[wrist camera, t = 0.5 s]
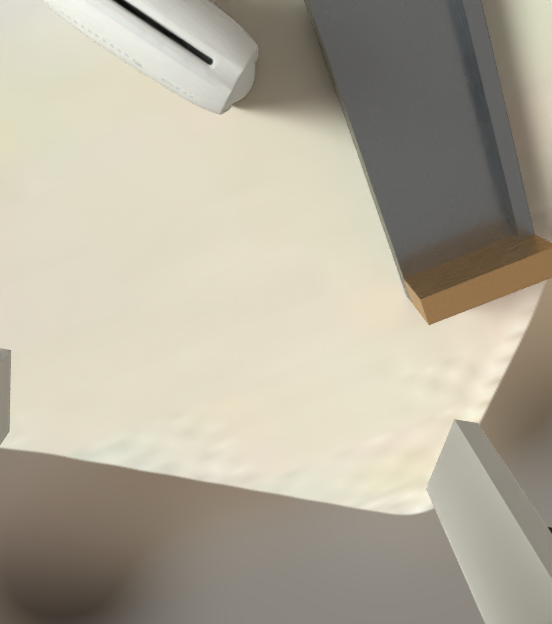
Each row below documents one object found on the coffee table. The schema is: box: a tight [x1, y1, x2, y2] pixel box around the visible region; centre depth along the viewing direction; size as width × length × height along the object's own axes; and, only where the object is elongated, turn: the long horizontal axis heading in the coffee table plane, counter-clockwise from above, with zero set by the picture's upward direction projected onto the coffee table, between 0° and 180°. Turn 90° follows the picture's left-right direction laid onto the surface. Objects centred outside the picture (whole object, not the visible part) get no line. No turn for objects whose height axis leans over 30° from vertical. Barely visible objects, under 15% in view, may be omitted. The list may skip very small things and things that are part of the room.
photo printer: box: [43, 0, 258, 115], centre depth 27 cm, size 10×4×12 cm, turn 58°
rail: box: [305, 0, 552, 325], centre depth 31 cm, size 32×9×6 cm, turn 23°
